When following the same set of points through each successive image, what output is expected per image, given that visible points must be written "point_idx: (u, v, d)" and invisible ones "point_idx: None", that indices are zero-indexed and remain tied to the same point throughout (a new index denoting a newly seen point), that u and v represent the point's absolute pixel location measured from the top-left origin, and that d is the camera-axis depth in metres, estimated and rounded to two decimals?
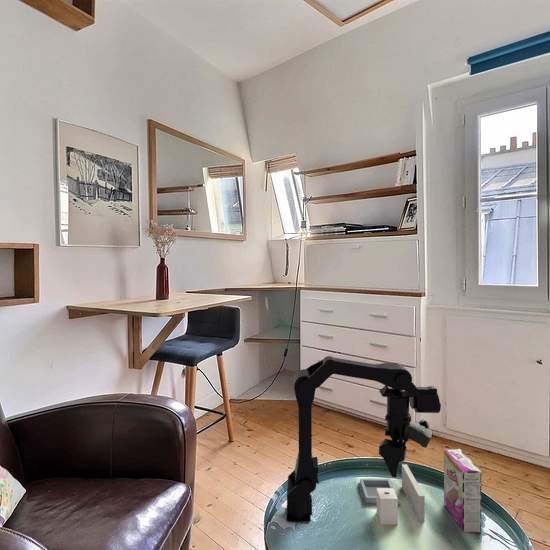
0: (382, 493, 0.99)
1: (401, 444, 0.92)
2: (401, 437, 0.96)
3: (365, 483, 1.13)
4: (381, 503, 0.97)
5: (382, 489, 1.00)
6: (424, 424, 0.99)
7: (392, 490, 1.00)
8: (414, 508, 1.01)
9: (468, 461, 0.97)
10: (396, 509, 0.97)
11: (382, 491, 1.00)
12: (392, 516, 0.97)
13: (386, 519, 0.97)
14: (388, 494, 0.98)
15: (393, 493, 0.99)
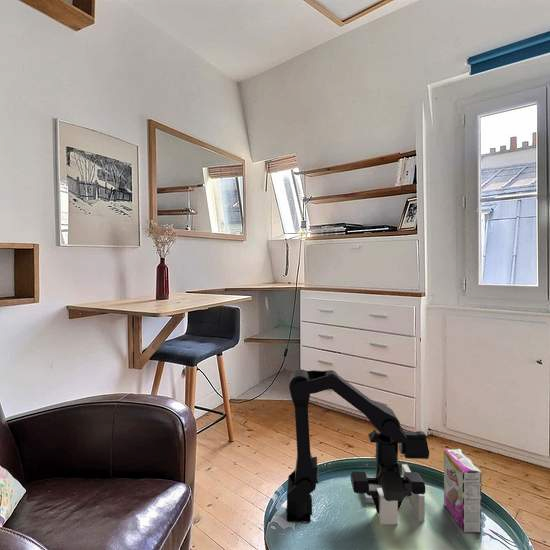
0: (382, 493, 0.99)
1: (363, 480, 0.97)
2: None
3: None
4: (381, 503, 0.97)
5: None
6: None
7: None
8: (414, 508, 1.01)
9: (468, 461, 0.97)
10: (396, 509, 0.97)
11: (382, 491, 1.00)
12: (392, 516, 0.97)
13: (386, 519, 0.97)
14: None
15: None
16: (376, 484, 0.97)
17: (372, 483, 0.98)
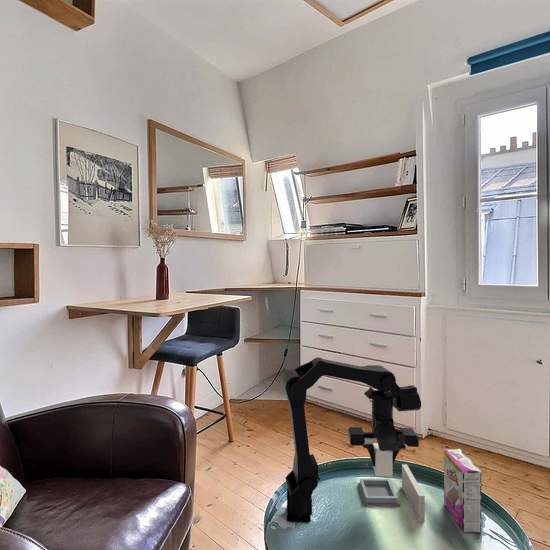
0: (378, 447, 1.04)
1: (359, 434, 1.02)
2: None
3: (365, 483, 1.13)
4: (376, 455, 1.01)
5: None
6: None
7: None
8: (414, 508, 1.01)
9: (468, 461, 0.97)
10: (391, 461, 1.01)
11: None
12: (387, 468, 1.01)
13: (381, 471, 1.02)
14: None
15: None
16: (372, 438, 1.02)
17: (368, 437, 1.03)
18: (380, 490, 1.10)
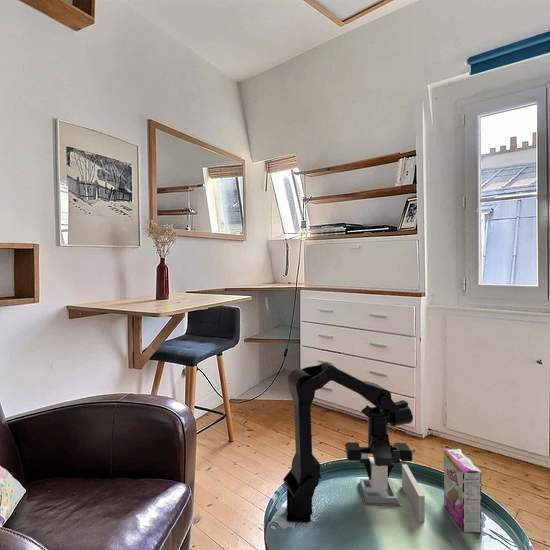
0: (373, 461, 1.09)
1: (356, 449, 1.07)
2: None
3: (365, 483, 1.13)
4: (372, 470, 1.07)
5: None
6: None
7: None
8: (414, 508, 1.01)
9: (468, 461, 0.97)
10: (386, 475, 1.06)
11: (373, 460, 1.09)
12: (383, 482, 1.07)
13: (377, 484, 1.07)
14: None
15: None
16: (368, 453, 1.07)
17: (364, 452, 1.08)
18: (380, 490, 1.10)
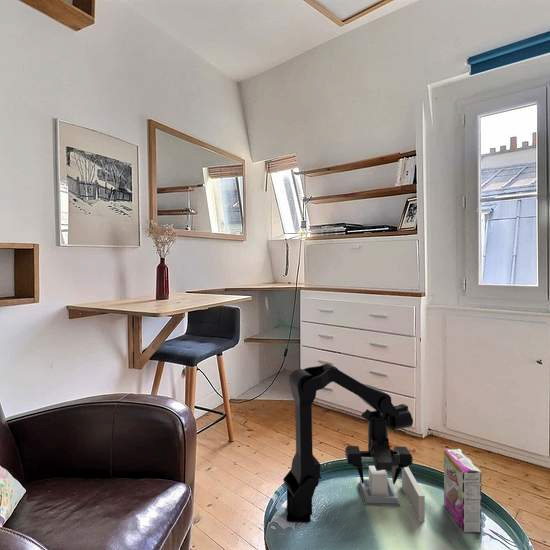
0: (373, 470, 1.09)
1: (356, 453, 1.07)
2: None
3: (365, 483, 1.13)
4: (372, 478, 1.07)
5: (374, 466, 1.10)
6: None
7: None
8: (414, 508, 1.01)
9: (468, 461, 0.97)
10: (386, 484, 1.07)
11: (373, 468, 1.10)
12: (383, 490, 1.07)
13: (377, 493, 1.07)
14: (379, 470, 1.08)
15: (383, 470, 1.09)
16: (368, 456, 1.07)
17: (364, 456, 1.08)
18: None
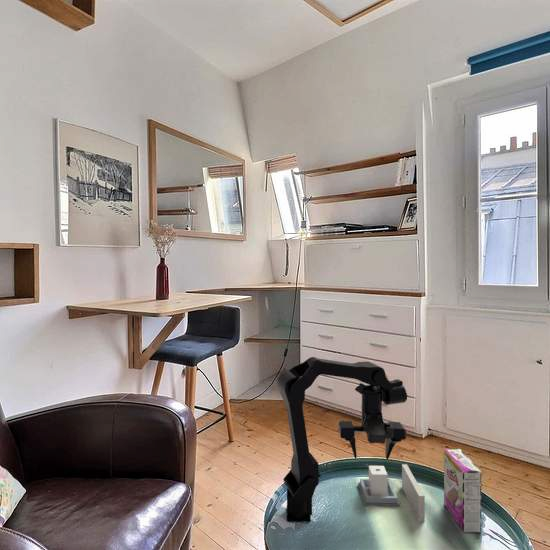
0: (373, 470, 1.09)
1: (349, 427, 1.05)
2: None
3: (365, 483, 1.13)
4: (372, 478, 1.07)
5: (374, 466, 1.10)
6: None
7: (383, 467, 1.10)
8: (414, 508, 1.01)
9: (468, 461, 0.97)
10: (386, 484, 1.07)
11: (373, 468, 1.10)
12: (383, 490, 1.07)
13: (377, 493, 1.07)
14: (379, 470, 1.08)
15: (383, 470, 1.09)
16: (361, 431, 1.06)
17: (358, 430, 1.06)
18: None
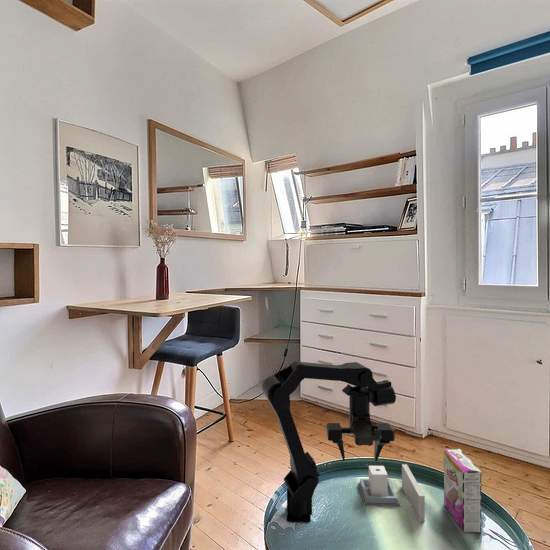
0: (373, 470, 1.09)
1: (337, 429, 1.04)
2: None
3: (365, 483, 1.13)
4: (372, 478, 1.07)
5: (374, 466, 1.10)
6: None
7: (383, 467, 1.10)
8: (414, 508, 1.01)
9: (468, 461, 0.97)
10: (386, 484, 1.07)
11: (373, 468, 1.10)
12: (383, 490, 1.07)
13: (377, 493, 1.07)
14: (379, 470, 1.08)
15: (383, 470, 1.09)
16: (349, 433, 1.04)
17: (345, 432, 1.05)
18: None
